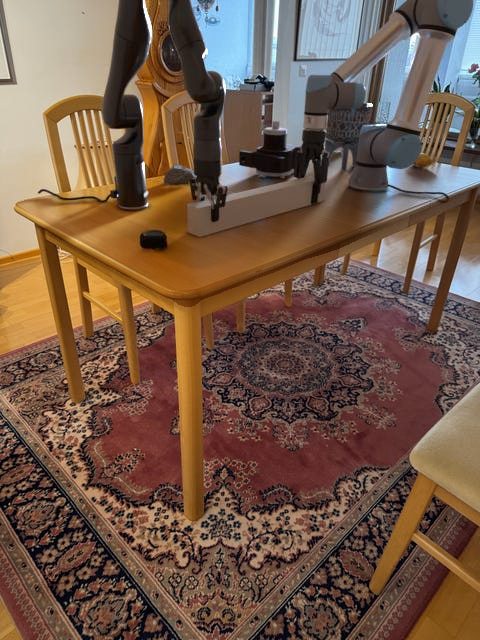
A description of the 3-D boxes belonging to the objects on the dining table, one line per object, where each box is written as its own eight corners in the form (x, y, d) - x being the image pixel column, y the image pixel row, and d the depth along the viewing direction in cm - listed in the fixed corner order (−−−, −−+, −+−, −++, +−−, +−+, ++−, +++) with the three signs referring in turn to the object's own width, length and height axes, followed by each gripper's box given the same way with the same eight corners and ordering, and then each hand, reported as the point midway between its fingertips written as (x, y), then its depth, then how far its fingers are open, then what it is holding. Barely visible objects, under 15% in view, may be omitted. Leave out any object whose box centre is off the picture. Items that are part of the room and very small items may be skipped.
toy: (409, 160, 208) (403, 153, 221) (411, 174, 211) (405, 166, 224) (434, 152, 205) (427, 146, 218) (436, 166, 208) (429, 159, 221)
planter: (313, 167, 208) (319, 103, 195) (331, 160, 222) (338, 101, 209) (353, 173, 199) (362, 107, 185) (369, 166, 213) (379, 104, 199)
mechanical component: (240, 120, 182) (283, 115, 202) (239, 174, 192) (280, 164, 212) (283, 126, 170) (325, 120, 190) (280, 183, 180) (320, 171, 200)
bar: (311, 198, 163) (313, 175, 159) (322, 201, 160) (325, 177, 156) (188, 232, 129) (186, 204, 125) (199, 237, 126) (198, 208, 122)
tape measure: (140, 252, 115) (139, 238, 113) (141, 242, 120) (140, 229, 119) (167, 251, 116) (166, 237, 114) (167, 241, 121) (166, 228, 120)
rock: (189, 177, 184) (188, 161, 181) (201, 182, 179) (201, 165, 176) (161, 182, 177) (159, 165, 173) (173, 187, 171) (172, 170, 168)
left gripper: (179, 154, 122) (182, 215, 131) (214, 162, 114) (215, 228, 122) (201, 151, 127) (202, 210, 136) (236, 159, 118) (235, 222, 127)
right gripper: (285, 126, 149) (281, 197, 161) (330, 133, 138) (321, 208, 150) (300, 125, 154) (294, 193, 166) (344, 131, 143) (335, 204, 154)
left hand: (208, 218), depth 129 cm, fingers closed on bar, 5 cm apart
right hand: (307, 200), depth 158 cm, fingers closed on bar, 5 cm apart
